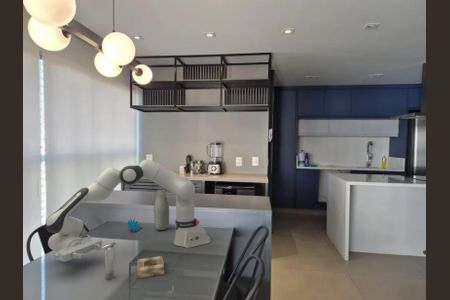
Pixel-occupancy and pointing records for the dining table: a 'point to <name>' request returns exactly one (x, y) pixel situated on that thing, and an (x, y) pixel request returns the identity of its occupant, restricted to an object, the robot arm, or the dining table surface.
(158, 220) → the glass bottle
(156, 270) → the socket block
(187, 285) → the dining table surface
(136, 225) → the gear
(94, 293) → the dining table surface
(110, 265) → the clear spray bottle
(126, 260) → the dining table surface
